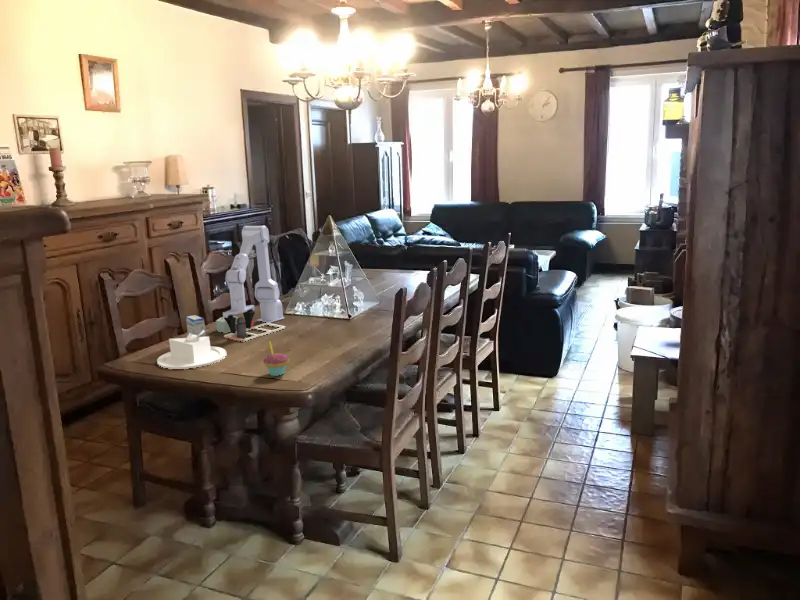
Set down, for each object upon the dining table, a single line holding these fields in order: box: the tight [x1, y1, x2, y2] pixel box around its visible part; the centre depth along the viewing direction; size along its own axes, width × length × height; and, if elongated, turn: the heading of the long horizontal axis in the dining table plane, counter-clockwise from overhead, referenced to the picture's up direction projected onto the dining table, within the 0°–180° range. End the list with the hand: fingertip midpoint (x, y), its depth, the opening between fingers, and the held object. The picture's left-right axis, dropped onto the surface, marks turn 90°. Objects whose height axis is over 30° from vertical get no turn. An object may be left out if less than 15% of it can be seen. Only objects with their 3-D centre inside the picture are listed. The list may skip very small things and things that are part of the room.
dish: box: [156, 330, 228, 370], centre depth 246 cm, size 25×25×11 cm
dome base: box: [215, 315, 239, 334], centre depth 283 cm, size 8×10×5 cm
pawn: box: [235, 316, 248, 339], centre depth 271 cm, size 4×4×9 cm
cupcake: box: [263, 340, 290, 377], centre depth 225 cm, size 9×8×12 cm
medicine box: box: [185, 314, 207, 337], centre depth 274 cm, size 8×4×9 cm, turn 42°
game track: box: [223, 322, 287, 343], centre depth 277 cm, size 23×13×1 cm, turn 141°
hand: (241, 330), depth 271 cm, fingers open, 7 cm apart
